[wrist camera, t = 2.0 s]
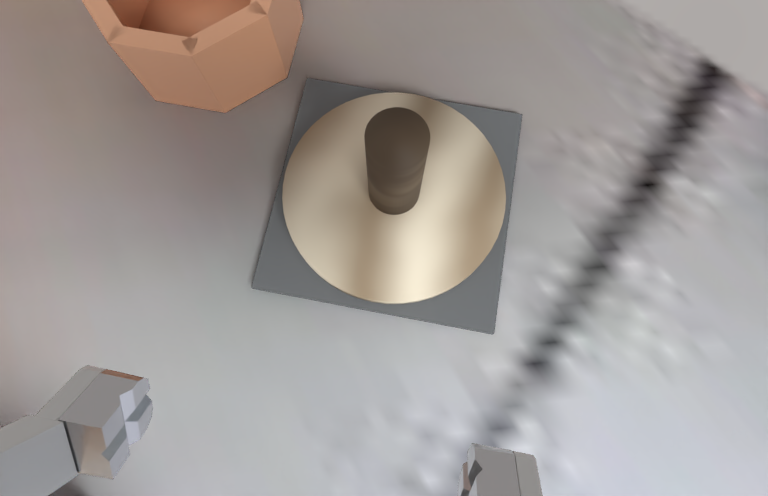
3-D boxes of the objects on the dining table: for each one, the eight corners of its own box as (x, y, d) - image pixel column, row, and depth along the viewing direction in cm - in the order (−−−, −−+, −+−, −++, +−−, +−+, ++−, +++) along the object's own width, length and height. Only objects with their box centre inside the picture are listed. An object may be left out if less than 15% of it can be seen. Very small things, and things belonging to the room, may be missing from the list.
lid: (514, 119, 32) (555, 39, 24) (486, 323, 29) (525, 305, 21) (312, 85, 33) (291, -4, 25) (261, 281, 29) (217, 247, 22)
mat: (520, 117, 33) (522, 114, 32) (492, 334, 29) (494, 333, 28) (308, 81, 33) (307, 77, 33) (253, 288, 30) (251, 287, 29)
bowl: (314, -20, 36) (301, -97, 30) (275, 121, 32) (251, 66, 27) (160, -45, 36) (117, -125, 30) (107, 92, 33) (49, 32, 27)
